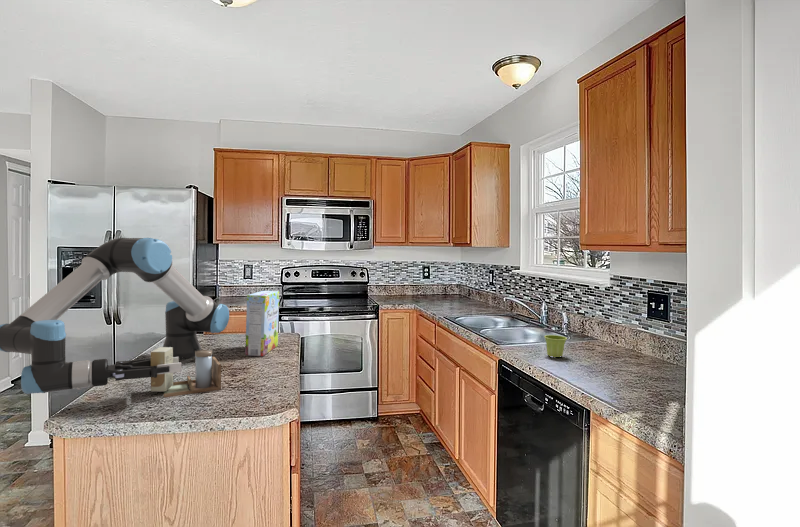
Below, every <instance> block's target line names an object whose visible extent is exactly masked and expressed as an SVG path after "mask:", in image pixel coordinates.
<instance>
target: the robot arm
mask: <svg viewBox="0 0 800 527" xmlns="http://www.w3.org/2000/svg"><path fill="white" fill-rule="evenodd" d="M171 253H172V251H171V248H170V247H169V245H168V244H167V243H166V242H164V240H161V239H157V238H153V237H118V238H114V239H110V240H108V241H106V242H104V243H102V244H101V245H99V246H98V247H97V248H94V249H93V250H92V251H91V252H89V253H88V254H87V255H86V256H84V257H83V258H82V259H81V264H80V265H79V266H78V267H76V269H74V270H73V271H72V272H71V273H69V274H68V275H67V276H66V277H64V278H63V279H62V280H60V282H58V283H57V284H56V285H55V286H54V287H52V288H51V289H50V290H48V292H46V293H45V294H44V295H43V296H42V297H41V298H39V299H38V300H37V301H35V302H34V303H33V304H32V305H31V306H30V307H28V308H27V309H26V310H24V312H23V313H21V314H20V315H18V316H17V317H16V318H15V319H14V320H13V321H11V322H10V323H3V324H0V352H5V353H18V354H19V353H21V354H28V355H30V360H31V361H30V362H31V363H30V364H29V365H26V366H24V367H23V368H22V370H21V375H20V378H21V379H20V386H21V390H22V392H23V393H24V394H28V395H30V394H45V393H50V392H51V393H52V392H59V391H67V390H73V389H74V390H76V389H77V390H78V391H80V390H81V391H82V389H84V388H89V387H91V385H92V387H95V388H96V387H101V386H102V387H103V386H107V385H108V384H109V383H108V382H109V381H108V380H109V379H114V381H116V382H118V381H125V380H133V379H146V378H151V377H154V378H156V377H157V374H166V373H173V374H174V373H181V372H182V367H183V366H182V362H179V361H180V360H181V359H183V360H184V359H188V358H189V359H190V358H195V351H198V350H202V348H201V345H200V341H199V339H198V336H197V332H199V333H200V332H201V333H202V332H203V333H211V334H216V333H217V334H218V333H222V332H223V331H224V330H225V329H226V328H227V326H228V323H229V321H230V310H229V307H228V306H227V305H226V304H223V303H217V302H216V301H214V299H212V298H211V297H210V296H209V295H203V294H202V293H201V292H200V291H199V290H197V289H196V288H197V287H196V286H193V285H192V283H191V282H190V281H189V280H188V279H187V278H185V277H184V275H182V273H181V272H179V271H178V270H177V269H176V268H175V266H173V255H172V254H171ZM117 273H134V274H136V276H138V277H139V278H140V280H142V281H144V282H146V283H153V284H154V285H155V286H156V287H157V288H158V289H159V290H161V291H162V292H163V293H164V294H165V295H166V296H167V297H168V298H170V299H171V300H172V301H168V302H167V303H166V305H165V311H164V313H165V315H164V316H165V317H164V318H165V339H164V342H163V345H162V347H173V363H170V364H161V365H157V366H151V357H148V358H139V359H131V360H122V361H115V364H110V365H109V363H108V362H109V361H108V358H101V359H100V358H99V359H98V358H97V359H93V360H92V361H91V360H87V359H86V360H78V361H66V337H67V333H66V327H65V326H66V325H65V322H64V321H62V319H59V318H60V317H62V316H64V314H65V313H66V312H67V311H68V310H70V309H71V308H72V307H73V306H74V305H75V304H76V303H77V302H79V300H81V299H82V298H83V297H84V296H86V295H87V293H89V292H90V291H91V290H92V289H93V288H94V287H96V286H97V285H98V284H99V282H101V281H106V280H108V279H109V278H110V277H111V276H112V275H116V274H117Z"/></svg>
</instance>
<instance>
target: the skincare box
mask: <svg viewBox="0 0 800 527" xmlns="http://www.w3.org/2000/svg"><path fill="white" fill-rule="evenodd" d="M150 358H151V366H157V365H161V364H170V363H173V347H163V346H158V347H157V348H155V349H153V350H151V351H150ZM173 382H174V373H166V374H157V377H156V378H154V377H150V392H164V391H166V390H168V389H169V388H170V387H171V386H173Z"/></svg>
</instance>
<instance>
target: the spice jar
mask: <svg viewBox="0 0 800 527" xmlns="http://www.w3.org/2000/svg"><path fill="white" fill-rule="evenodd" d="M212 357H213V349H201V350H198V351H195V357H194V358H195V363H194V364H195V365H194V366H195V369H194V370H195V377H194V378H195V379H194V380H195V387H196V388H208V387H211V386H212Z"/></svg>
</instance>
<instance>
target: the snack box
mask: <svg viewBox="0 0 800 527" xmlns="http://www.w3.org/2000/svg"><path fill="white" fill-rule="evenodd" d="M279 309H280V291H278V290H261V291H257V292H253V293H250V294H247V295H246V316H245V317H246V321H245V322H246V323H245V324H246V325H245V348H244V349H245V350H244V352H245V353H244V355H245V356H249V357H250V356H251V357H264V356H266V355H268V353H270V352H271V351H272V350H275V348H276V347H278V344H279V316H280V314H279Z"/></svg>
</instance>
